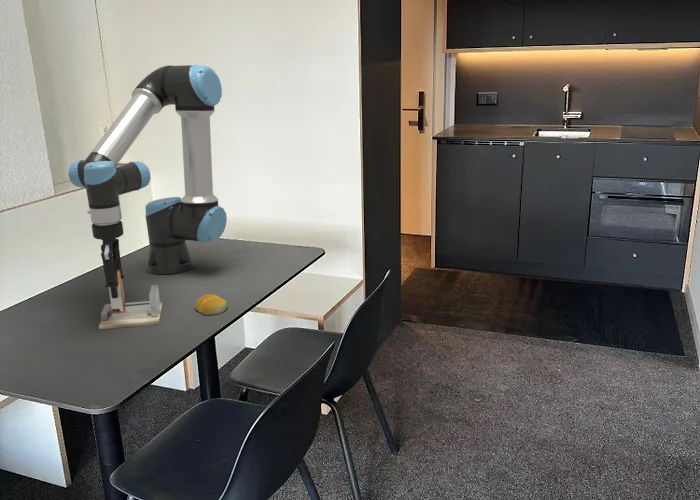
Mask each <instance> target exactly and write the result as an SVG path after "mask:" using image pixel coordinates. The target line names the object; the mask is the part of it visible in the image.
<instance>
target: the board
mask: <svg viewBox="0 0 700 500" xmlns="http://www.w3.org/2000/svg"><path fill="white" fill-rule="evenodd" d="M162 309H163V301H160V308H159V312H158V316H151V314H148V317H145V318H134V319H124V320H113V319H112V313H113V311H112V312H111V315H110V317H109V320H108V321H102V320H100V323H99V325H98V330H106V329H107V330H110V329H117V328H129V327H139V326H140V327H141V326H150V325H159V324H160V320H161V314H162Z"/></svg>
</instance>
